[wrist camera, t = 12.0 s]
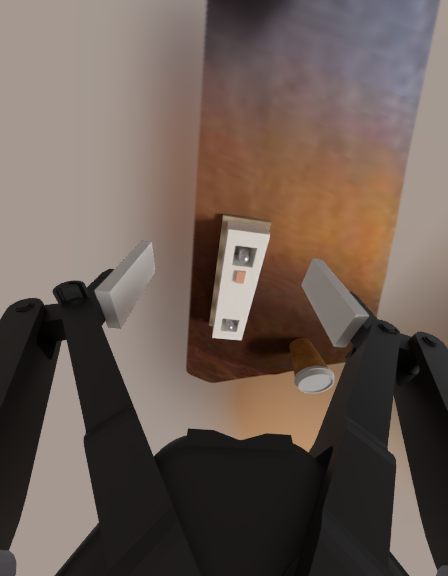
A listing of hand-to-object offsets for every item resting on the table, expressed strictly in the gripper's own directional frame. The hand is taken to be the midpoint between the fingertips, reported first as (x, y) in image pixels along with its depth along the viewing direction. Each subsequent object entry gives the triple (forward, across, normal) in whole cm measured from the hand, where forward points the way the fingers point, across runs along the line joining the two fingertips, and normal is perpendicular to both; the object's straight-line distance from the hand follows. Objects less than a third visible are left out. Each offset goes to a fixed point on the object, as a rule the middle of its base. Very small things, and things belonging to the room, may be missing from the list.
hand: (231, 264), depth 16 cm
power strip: (+21, +3, -16) cm, 27 cm away
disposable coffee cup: (+23, +25, -37) cm, 50 cm away
